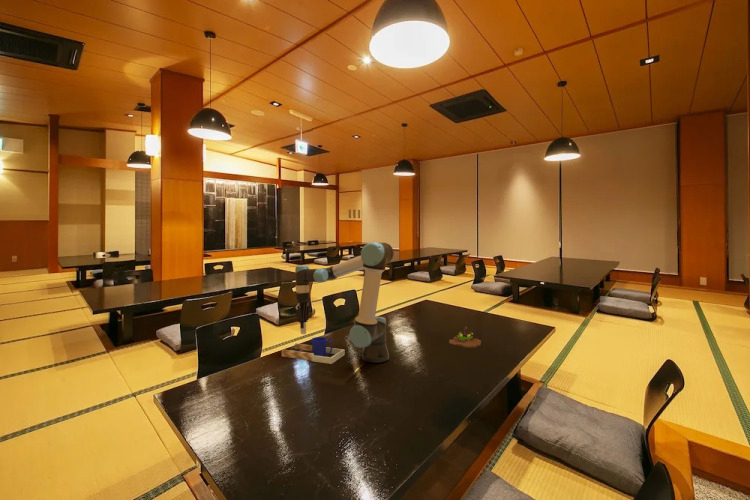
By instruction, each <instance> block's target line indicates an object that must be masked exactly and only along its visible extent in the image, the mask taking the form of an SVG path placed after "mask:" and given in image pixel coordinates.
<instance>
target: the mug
mask: <svg viewBox="0 0 750 500" xmlns="http://www.w3.org/2000/svg"><path fill="white" fill-rule="evenodd" d="M310 341H311V345H312V351H311V353H314V355H316V356H323V357H326V356H327V355H330V354H331V351H332V348H333V341H332V340H328V339H327V338H326V337H323V336H316V337H312V338H311V340H310ZM327 343H330V348H331V350H330V352H329V353H326V347H327ZM325 355H326V356H325Z"/></svg>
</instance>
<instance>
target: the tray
mask: <svg viewBox="0 0 750 500" xmlns="http://www.w3.org/2000/svg"><path fill="white" fill-rule="evenodd" d="M330 350H331V347H327V346H326V353H329V352H330ZM345 351H346V350H345V349H343V348H334V347H332V351H331V353H330V354H332V356H324V357H323V356H316V355H312V360H311V362H316V363H323V364H330V365H332V364H334V363H335V362H336V361H338V360H340V359H341V358H342V357H343V356H345V353H346V352H345Z"/></svg>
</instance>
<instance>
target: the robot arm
mask: <svg viewBox="0 0 750 500" xmlns="http://www.w3.org/2000/svg"><path fill="white" fill-rule="evenodd" d="M394 255H395V251H394V248H393V247H392V246H391V245H390V244H389V243H387V242H379V241H378V242H377V241H372V242H368V243H366V244H365V245H364V246H363V247H362V249H361V250H360V255H358V256H356V257H353V258H350V259H348V260H346V261H343V262H340V263H337V264H335V265H332V266H330V267H323V268H309V265H306V264H305V265H296V266H295V267H294V269H295V270H294V272H295V273H294V274H295V275H294V276H295V277H294V279H295V292H296V293H295V300H296V301H297V303H296V305H295V306H294V310H295V313H296V320H297V322H298V323H300V324H299V325H300V334H301V335H306V334H307V323H308V321H309V315H310V307H311V302H309V299H310V283H317V284H318V283H326V282H327V281H335V280H336V279H338V278H340V277H343V276H347V275H350V274H351V273H355V272H358V271H361V270H364V276H363V284H362V290H361V299H360V303H359V304H360V305H359V309H358V310H359V311H358V315H357V316H356V317H355V318H354V325H353V326H352V327H351V328H350V330H349V334H348V335H349V339H350V342H351V343H352V344H353V346H355V347H357V348H359V349H361V348H362V353H361V359H362V360H363V361H365V362H368V363H383V362H387V361H388V360H389V359H390V353H389V350H388V347H387V319H386V317H384V316H376V314H377V307H378V301H379V294H380V287H381V280H382V274H383V272H384V271H386V268H387V267H386V266H387V264H389V263H390V262H392V260H393V259H394V257H395V256H394Z"/></svg>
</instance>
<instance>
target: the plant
mask: <svg viewBox="0 0 750 500" xmlns="http://www.w3.org/2000/svg"><path fill="white" fill-rule="evenodd" d="M467 329H468V327H467V326H464V329H463V330H461V331H459V333H458V335H457V336H454V337H453V339H449V340H448V343H449V344H451V345H454V346H459V347H463V348H466V349H467V348H469V349H473V348H474V349H476V348H477V347H481V344H482V340H480V339H479V338H475V337H474V338H473V335H474V333H473V332H472V331H468V332H466V330H467Z"/></svg>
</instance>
